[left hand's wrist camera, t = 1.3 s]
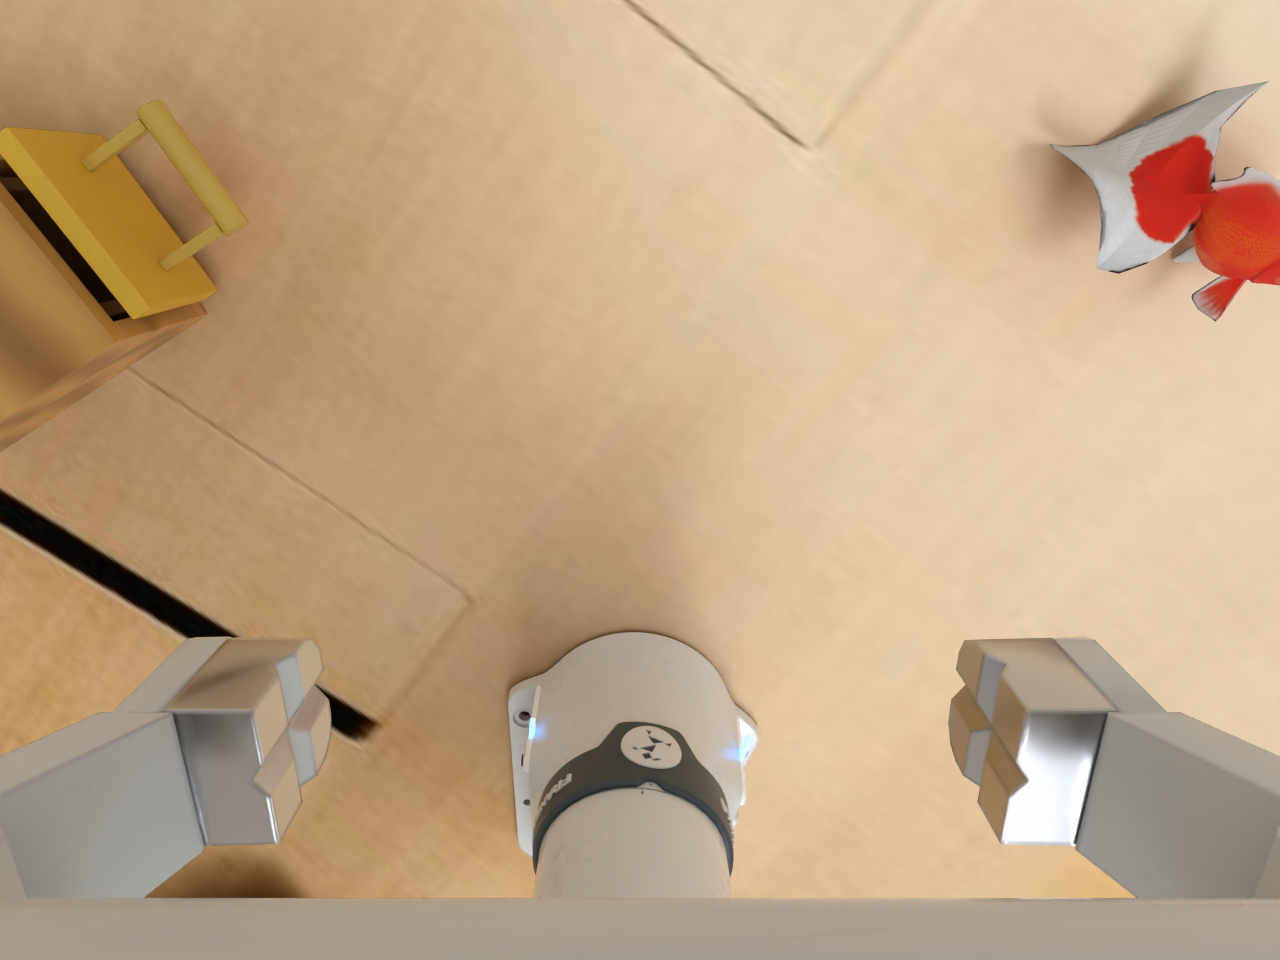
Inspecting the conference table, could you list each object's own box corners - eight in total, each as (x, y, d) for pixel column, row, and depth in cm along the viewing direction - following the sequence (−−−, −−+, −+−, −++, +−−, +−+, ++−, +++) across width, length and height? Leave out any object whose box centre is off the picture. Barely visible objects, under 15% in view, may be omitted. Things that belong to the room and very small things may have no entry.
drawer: (175, 79, 45) (91, 60, 38) (291, 242, 48) (232, 252, 41) (-115, 293, 49) (-240, 311, 42) (8, 431, 52) (-89, 469, 45)
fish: (1183, 402, 47) (1306, 339, 38) (975, 234, 50) (1039, 136, 41) (1301, 278, 48) (1452, 185, 38) (1089, 120, 51) (1179, -3, 42)
